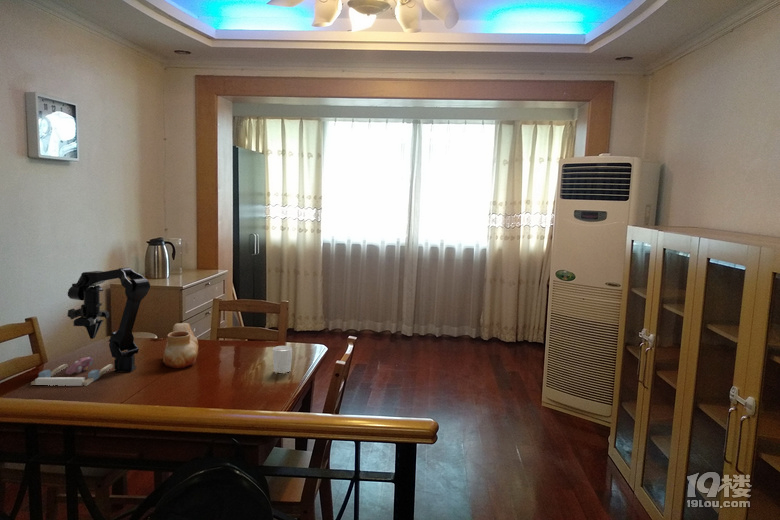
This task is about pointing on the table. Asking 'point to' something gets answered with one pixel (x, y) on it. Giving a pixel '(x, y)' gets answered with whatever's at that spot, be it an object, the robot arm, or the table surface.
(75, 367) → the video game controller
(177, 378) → the table surface
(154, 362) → the table surface
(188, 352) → the ceramic vessel
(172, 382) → the table surface
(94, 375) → the guide channel
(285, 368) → the white cup
